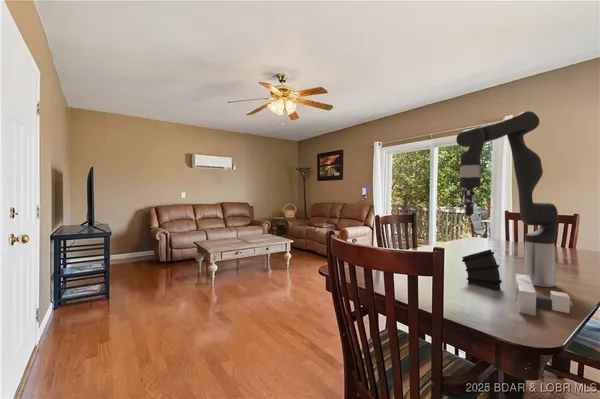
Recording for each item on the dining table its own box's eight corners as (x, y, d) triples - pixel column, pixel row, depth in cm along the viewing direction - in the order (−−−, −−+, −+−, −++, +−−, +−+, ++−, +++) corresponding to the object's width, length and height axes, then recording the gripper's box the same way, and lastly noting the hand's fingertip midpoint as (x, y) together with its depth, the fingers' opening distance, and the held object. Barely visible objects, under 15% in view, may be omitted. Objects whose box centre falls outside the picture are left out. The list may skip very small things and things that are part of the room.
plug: (520, 304, 93) (520, 289, 93) (519, 300, 97) (519, 286, 96) (573, 313, 86) (573, 297, 86) (570, 309, 89) (570, 293, 89)
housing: (518, 312, 86) (519, 290, 86) (515, 292, 104) (515, 273, 104) (535, 316, 84) (536, 293, 84) (529, 294, 102) (529, 275, 102)
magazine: (506, 289, 103) (487, 250, 108) (472, 294, 113) (456, 258, 118) (511, 287, 105) (492, 248, 110) (476, 292, 115) (461, 257, 120)
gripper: (461, 177, 125) (461, 213, 125) (457, 176, 113) (457, 215, 114) (481, 177, 121) (480, 214, 121) (479, 175, 109) (479, 216, 109)
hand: (469, 214), depth 117 cm, fingers open, 8 cm apart
